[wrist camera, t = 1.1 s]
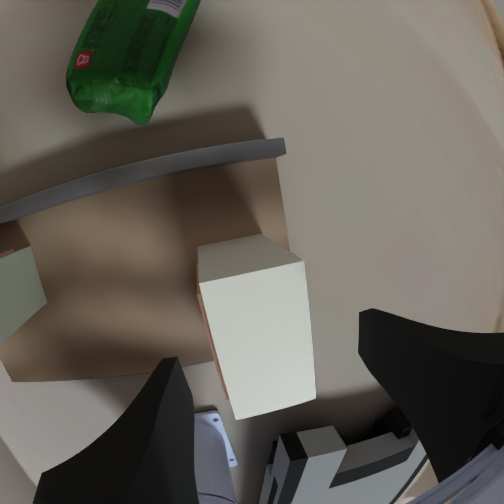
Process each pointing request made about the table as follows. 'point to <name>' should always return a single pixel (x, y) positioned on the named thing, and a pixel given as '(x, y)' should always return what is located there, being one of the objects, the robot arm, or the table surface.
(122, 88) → the snack package
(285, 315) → the cream carton
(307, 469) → the game console
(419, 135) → the table surface
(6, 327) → the sage carton
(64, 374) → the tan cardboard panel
